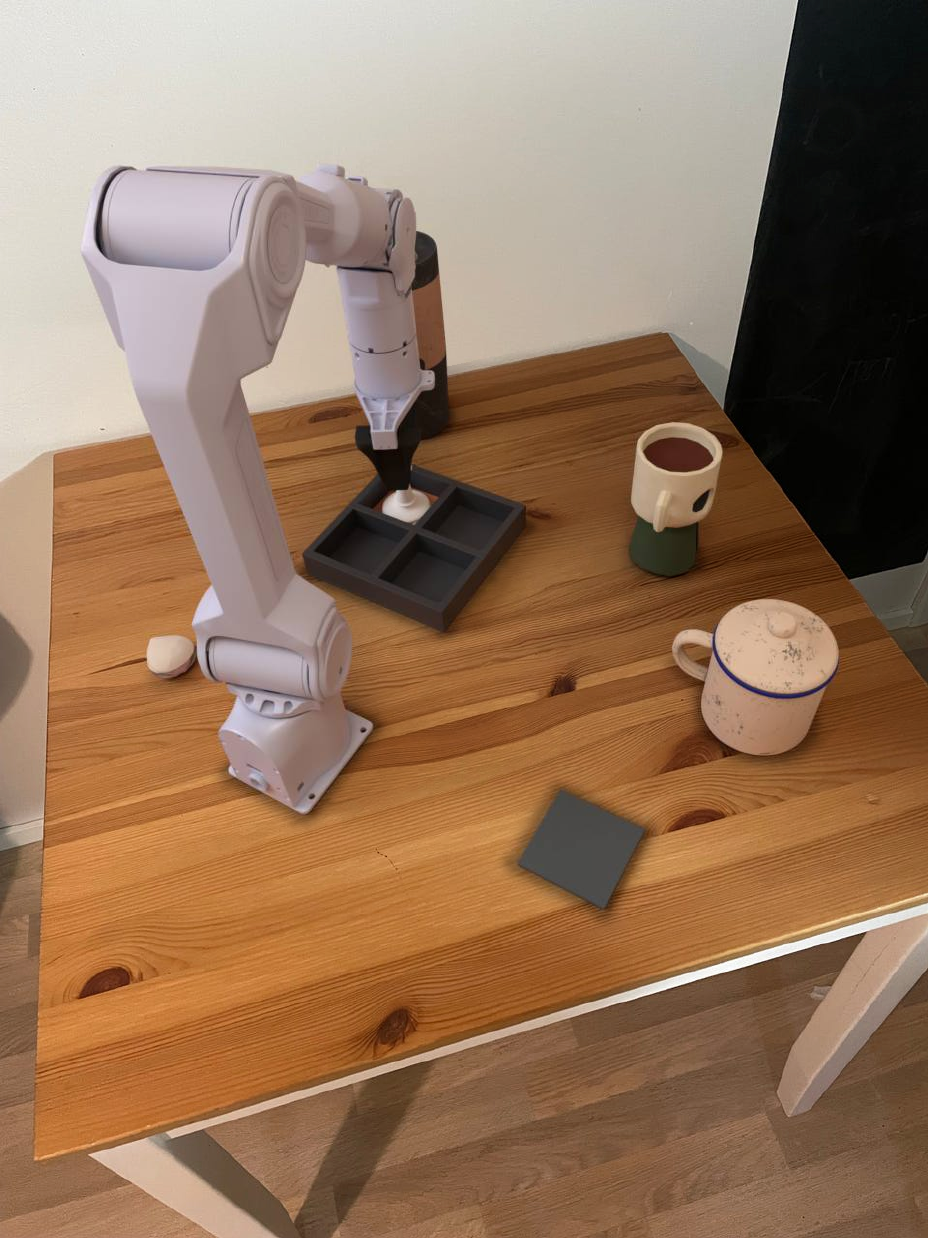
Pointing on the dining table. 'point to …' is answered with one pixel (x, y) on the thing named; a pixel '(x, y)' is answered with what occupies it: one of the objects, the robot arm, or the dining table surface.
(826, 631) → the teacup with lid
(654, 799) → the dining table surface
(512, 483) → the dining table surface
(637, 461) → the character mug
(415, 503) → the chess piece
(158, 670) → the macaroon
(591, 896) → the coaster
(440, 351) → the travel mug
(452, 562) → the tray
